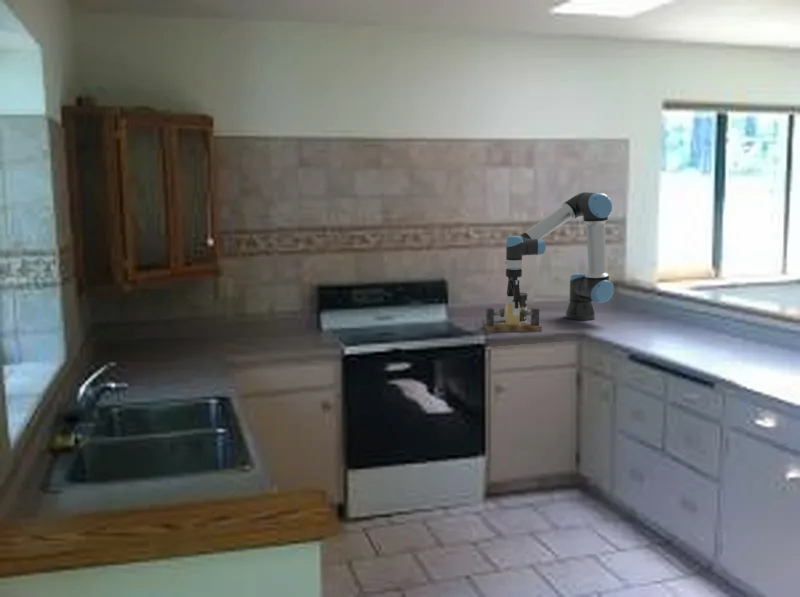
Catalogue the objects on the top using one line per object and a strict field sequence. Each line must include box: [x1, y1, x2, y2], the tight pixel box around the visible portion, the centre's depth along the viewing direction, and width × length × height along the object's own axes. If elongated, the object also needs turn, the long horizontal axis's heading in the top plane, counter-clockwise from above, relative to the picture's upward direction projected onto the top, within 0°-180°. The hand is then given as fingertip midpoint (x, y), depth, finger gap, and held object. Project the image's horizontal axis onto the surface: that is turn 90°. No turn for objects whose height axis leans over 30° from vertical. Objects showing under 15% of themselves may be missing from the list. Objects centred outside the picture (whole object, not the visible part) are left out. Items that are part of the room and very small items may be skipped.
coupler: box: [504, 303, 520, 326], centre depth 384 cm, size 6×4×10 cm
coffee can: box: [506, 291, 529, 323], centre depth 403 cm, size 10×10×14 cm
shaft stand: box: [483, 307, 543, 333], centre depth 384 cm, size 26×11×10 cm, turn 93°
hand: (513, 312), depth 384 cm, fingers open, 13 cm apart
